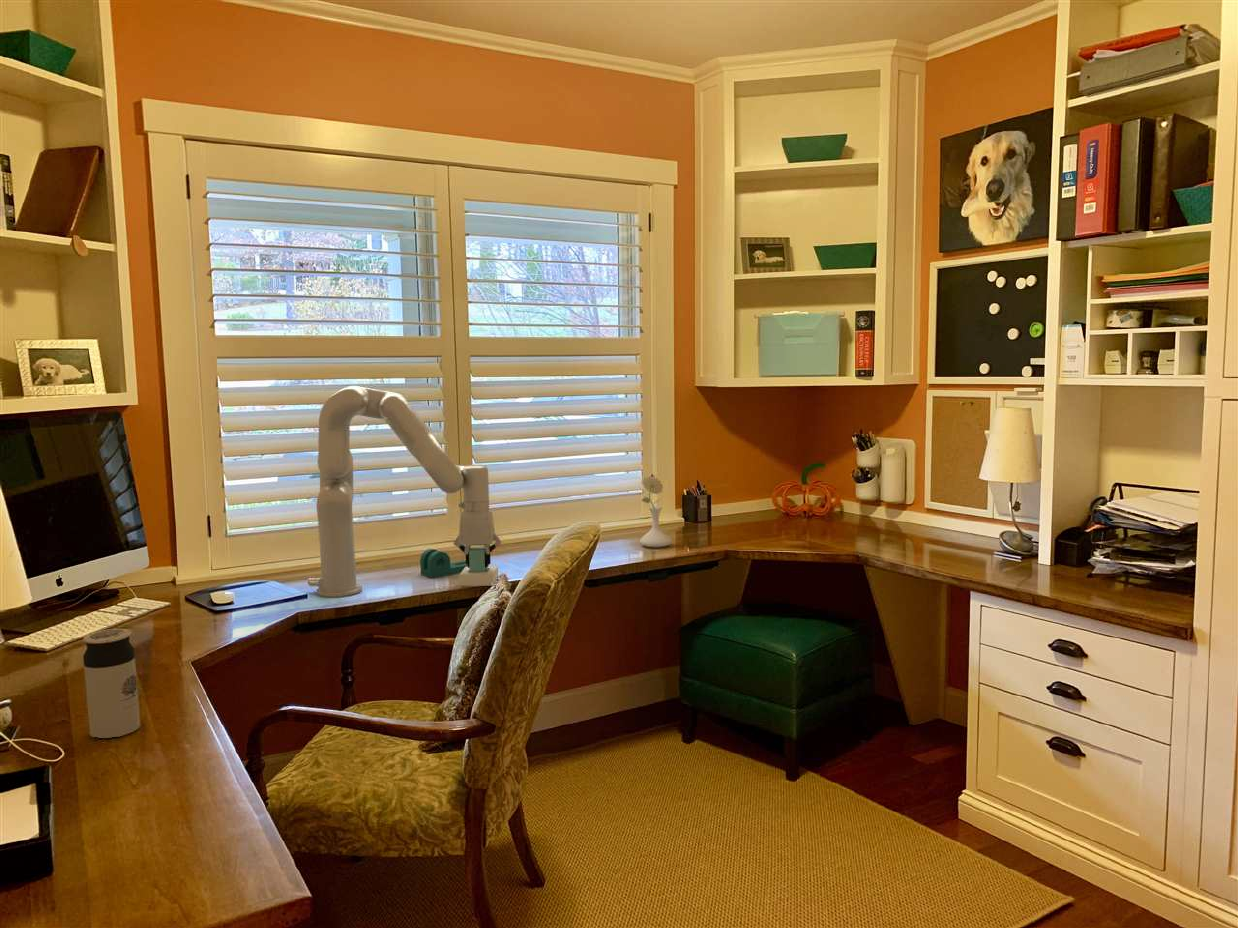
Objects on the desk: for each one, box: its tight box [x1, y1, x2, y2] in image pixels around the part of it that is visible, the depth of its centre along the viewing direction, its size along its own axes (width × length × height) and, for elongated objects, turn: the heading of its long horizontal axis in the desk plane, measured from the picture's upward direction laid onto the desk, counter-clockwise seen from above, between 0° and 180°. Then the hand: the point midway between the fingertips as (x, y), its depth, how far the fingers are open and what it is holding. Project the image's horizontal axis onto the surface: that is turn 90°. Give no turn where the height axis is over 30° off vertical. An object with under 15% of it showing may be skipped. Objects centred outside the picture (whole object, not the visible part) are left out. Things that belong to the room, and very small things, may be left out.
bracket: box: [419, 548, 468, 579], centre depth 284 cm, size 18×7×8 cm, turn 130°
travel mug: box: [82, 628, 141, 739], centre depth 162 cm, size 8×8×18 cm
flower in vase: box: [639, 475, 673, 548], centre depth 317 cm, size 13×11×25 cm
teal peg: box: [469, 546, 487, 573], centre depth 270 cm, size 4×4×10 cm
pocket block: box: [459, 565, 499, 587], centre depth 270 cm, size 10×10×4 cm
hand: (478, 566), depth 270 cm, fingers closed on teal peg, 4 cm apart
